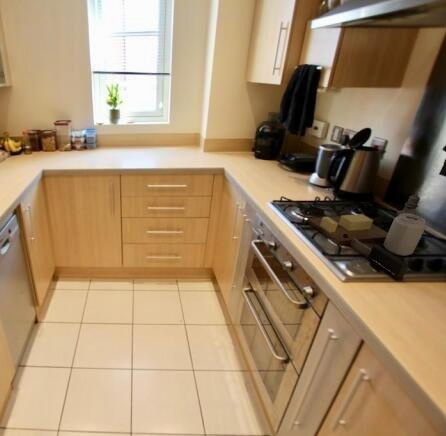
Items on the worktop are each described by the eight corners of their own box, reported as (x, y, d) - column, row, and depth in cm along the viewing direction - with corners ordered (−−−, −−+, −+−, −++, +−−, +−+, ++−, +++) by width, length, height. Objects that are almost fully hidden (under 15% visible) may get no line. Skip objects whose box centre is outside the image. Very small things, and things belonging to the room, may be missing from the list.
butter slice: (335, 232, 109) (338, 223, 107) (329, 232, 109) (332, 223, 107) (325, 225, 113) (327, 216, 112) (319, 225, 113) (322, 216, 112)
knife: (401, 279, 88) (409, 265, 86) (396, 280, 88) (403, 265, 86) (352, 245, 104) (357, 232, 102) (347, 245, 104) (352, 232, 102)
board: (392, 240, 106) (394, 236, 106) (337, 244, 105) (338, 241, 104) (355, 218, 120) (357, 214, 120) (306, 222, 119) (307, 218, 118)
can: (413, 250, 101) (430, 217, 95) (410, 260, 96) (427, 225, 91) (384, 241, 106) (398, 209, 100) (380, 250, 101) (394, 217, 96)
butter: (369, 229, 110) (373, 220, 109) (348, 230, 109) (352, 222, 108) (358, 222, 115) (362, 213, 113) (338, 224, 114) (341, 215, 112)
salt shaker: (397, 225, 115) (411, 195, 109) (390, 218, 120) (403, 189, 114) (416, 227, 113) (431, 197, 108) (409, 220, 118) (422, 190, 113)
